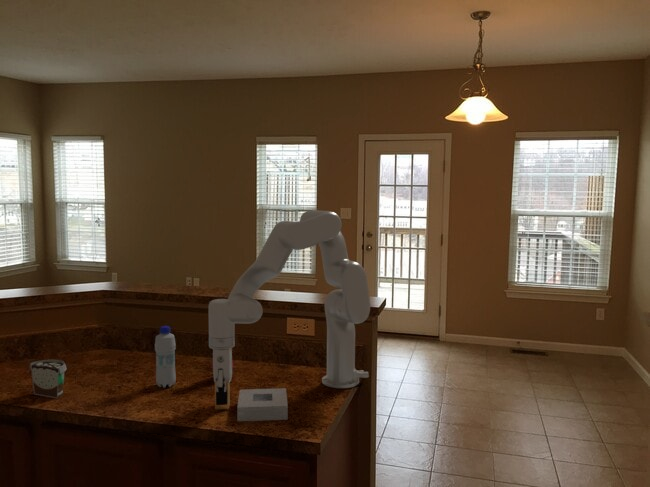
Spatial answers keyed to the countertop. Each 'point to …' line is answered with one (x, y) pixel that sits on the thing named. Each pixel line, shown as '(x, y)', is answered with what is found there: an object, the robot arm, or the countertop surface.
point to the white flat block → (262, 405)
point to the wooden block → (227, 397)
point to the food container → (48, 377)
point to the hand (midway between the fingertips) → (222, 400)
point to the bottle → (165, 357)
